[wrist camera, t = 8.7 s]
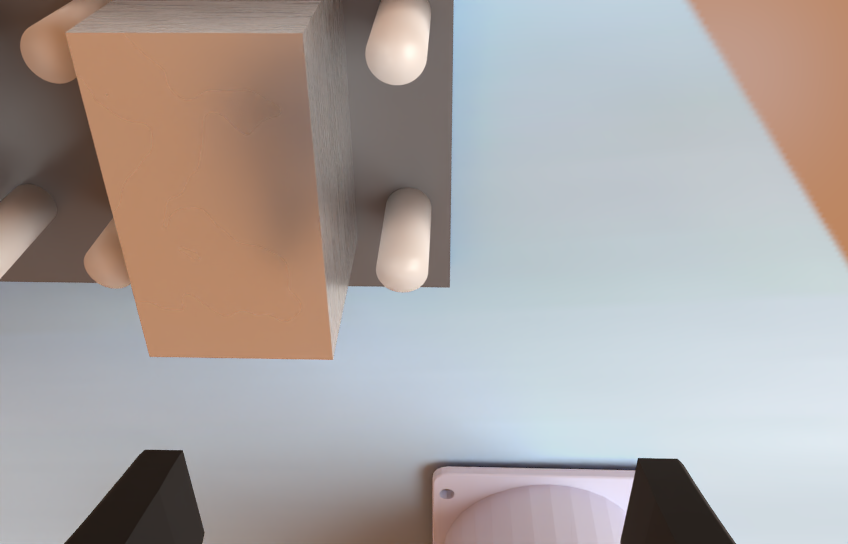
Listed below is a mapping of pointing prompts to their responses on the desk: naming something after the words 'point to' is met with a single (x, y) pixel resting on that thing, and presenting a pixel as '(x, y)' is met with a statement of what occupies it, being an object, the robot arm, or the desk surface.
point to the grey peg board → (370, 138)
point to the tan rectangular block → (226, 169)
